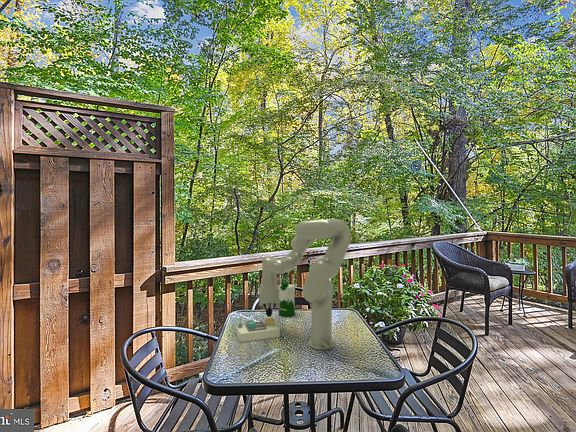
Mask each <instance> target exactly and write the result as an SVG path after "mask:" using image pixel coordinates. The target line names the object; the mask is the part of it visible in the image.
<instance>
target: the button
mask: <svg viewBox="0 0 576 432" xmlns="http://www.w3.org/2000/svg"><path fill="white" fill-rule="evenodd" d="M264 324H265V325H266V326H272V325H275V324H276V321H275V318H274V317H265V318H264Z"/></svg>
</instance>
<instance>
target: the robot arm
mask: <svg viewBox="0 0 576 432" xmlns="http://www.w3.org/2000/svg"><path fill="white" fill-rule="evenodd" d="M294 231H295V236H294V237H293V238H292V239H291V241H290V245H291V247H292V249H291V251H290V252H289V253H288V254H287V255H286V257H281V258H276V257H273V256H266V257H263V259H262V261H261V264H262V265H261V268H262V269H261V283H260V285H259V291H258V306H260V307H264V308H265V316H267V318H272V315H273V309H274V307H276V306H277V305H279V288H278V286H279V284H278V282H279V281H280V278H279V277H278V278H277V275H283V274H285V273H288V272H291V271H293V270H294V269H295V268H296V267H297V266H299V264H300V262H302V260H303V258H304V255H305V253H306V251H307V249H308V248H309V247H310V246H311V245H312V244H313V243H314V241H315V240H326V239H331V241H330V243H329V244H328V246H327V249H326V251H325V253H324V256H323V257H322V258H320V259H317V260H315V261H314V262H313V263H312V265H311V267H310V268H309V271H308V273H307V276H306V278H305V281H304V283H303V287H302V296H303V299H305V301H306V302H309V303H311V314H310V315H311V319H310V320H311V325H310V326H311V328H310V329H311V332H310V333H311V338H310V339H308V341H307V344H308V346H309V347H310V348H312V349H315V350H319V351H320V350H321V351H326V350H331V349H333V348H334V347H335V346H336V341H334V339H333V338H332V336H333V335H332V334H333V332H332V330H333V329H332V327H333V325H332V324H333V323H332V322H333V321H332V317H333V316H332V315H333V314H332V312H333V308H332V307H333V297H334V285H333V283H332V281H331V280H330V279H333V278H335V277H336V276H337V275H338V273H339V271H340V268H341V266H342V263H343V262H344V259H345V257H346V254H347V251H348V250H349V246H350V242H351V238H352V237H351V234H352V233H351V230H350V228H349V226H348V225H347V223H346V222H344V221H343V220H342V219H339V218H330V219H319V220H302V221H300V222H299V223H298V224H297V225H296V226H295V229H294Z"/></svg>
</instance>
